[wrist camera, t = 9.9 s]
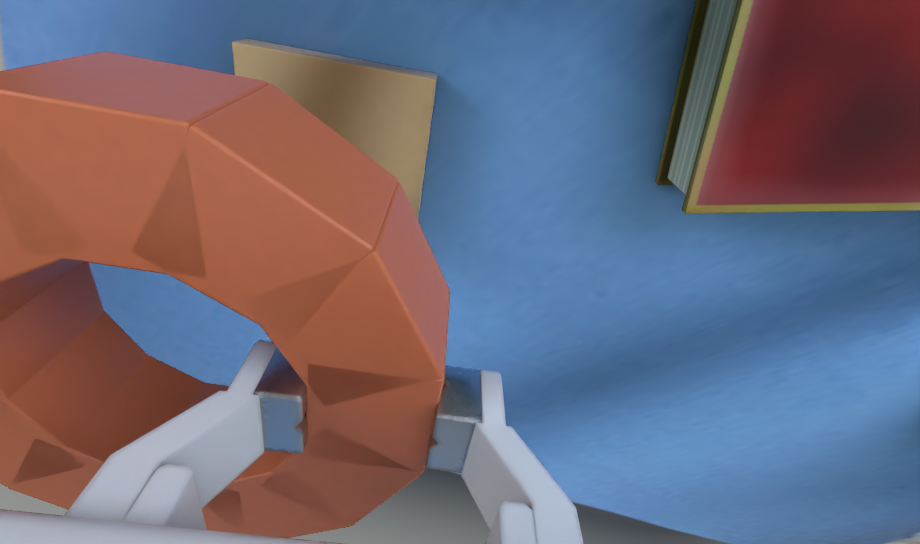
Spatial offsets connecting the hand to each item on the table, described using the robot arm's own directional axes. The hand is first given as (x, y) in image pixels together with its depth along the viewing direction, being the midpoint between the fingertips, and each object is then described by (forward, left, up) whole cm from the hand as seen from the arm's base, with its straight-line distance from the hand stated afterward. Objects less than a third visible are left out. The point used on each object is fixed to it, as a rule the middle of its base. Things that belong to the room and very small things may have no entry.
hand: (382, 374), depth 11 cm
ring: (+5, 0, -2) cm, 5 cm away
